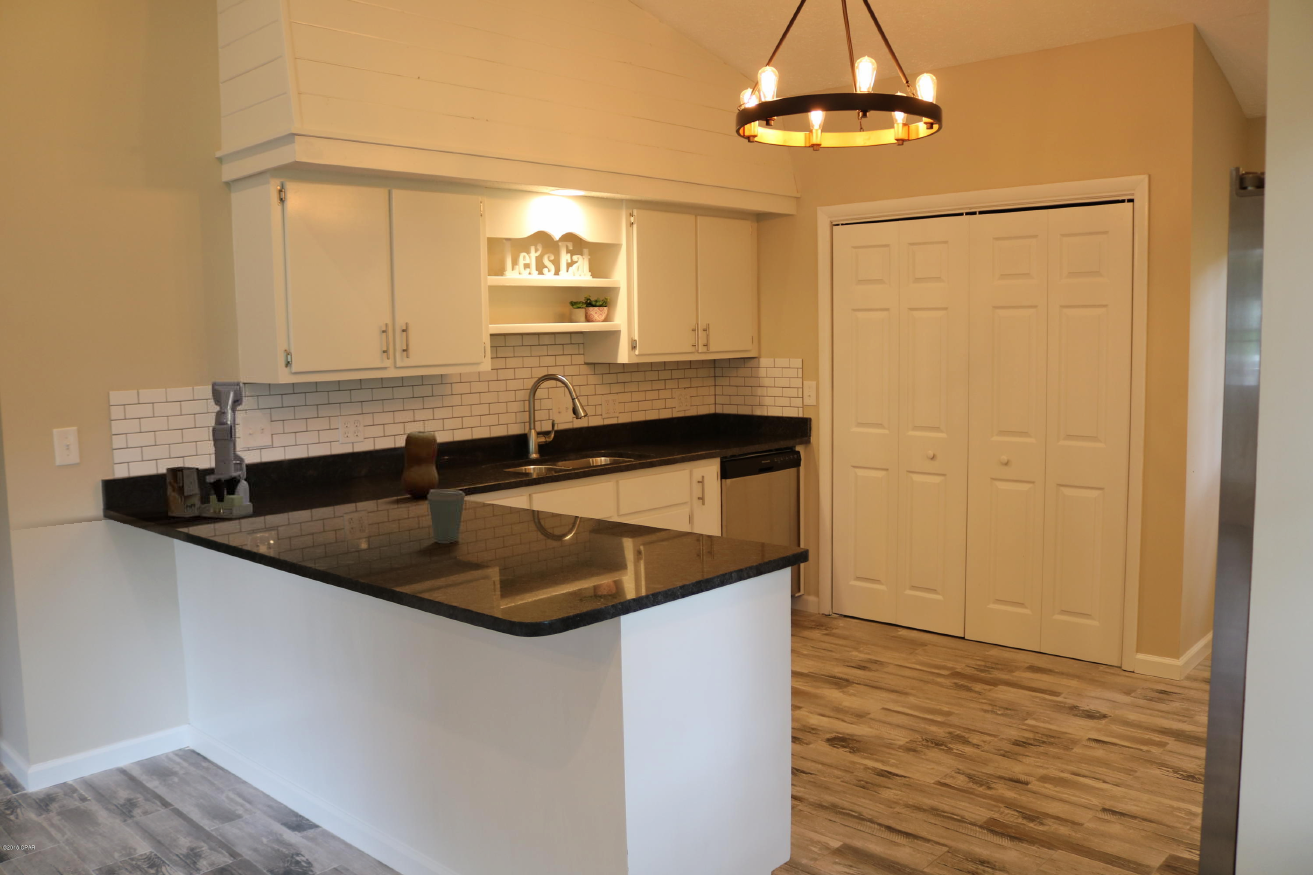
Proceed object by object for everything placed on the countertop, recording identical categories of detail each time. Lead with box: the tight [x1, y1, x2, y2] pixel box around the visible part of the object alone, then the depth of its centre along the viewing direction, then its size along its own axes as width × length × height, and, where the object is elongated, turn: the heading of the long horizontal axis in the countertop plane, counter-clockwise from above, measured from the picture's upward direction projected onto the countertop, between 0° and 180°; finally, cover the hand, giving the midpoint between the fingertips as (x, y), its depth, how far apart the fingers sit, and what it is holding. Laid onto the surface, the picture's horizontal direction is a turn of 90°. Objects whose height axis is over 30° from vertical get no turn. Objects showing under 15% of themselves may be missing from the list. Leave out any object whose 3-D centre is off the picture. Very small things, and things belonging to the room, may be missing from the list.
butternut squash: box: [400, 430, 439, 499], centre depth 377 cm, size 14×13×25 cm
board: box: [209, 494, 243, 510], centre depth 336 cm, size 10×4×4 cm, turn 71°
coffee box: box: [165, 466, 202, 518], centre depth 335 cm, size 9×6×16 cm
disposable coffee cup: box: [427, 489, 466, 544], centre depth 287 cm, size 11×11×15 cm
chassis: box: [198, 503, 253, 519], centre depth 336 cm, size 14×9×4 cm, turn 71°
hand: (225, 501), depth 336 cm, fingers closed on board, 4 cm apart
